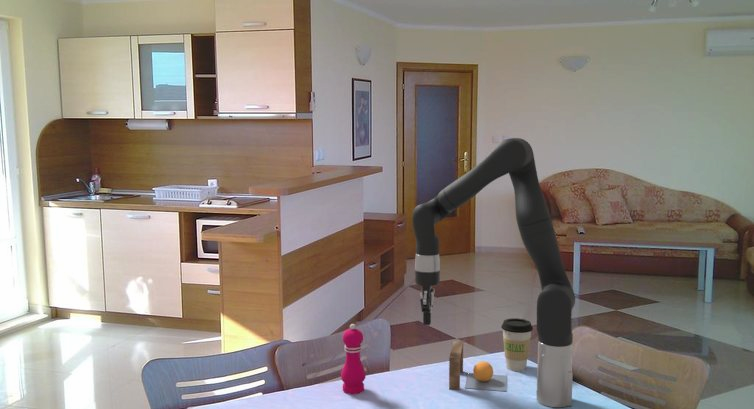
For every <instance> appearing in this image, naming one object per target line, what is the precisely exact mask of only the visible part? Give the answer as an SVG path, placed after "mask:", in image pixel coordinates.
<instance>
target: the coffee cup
mask: <svg viewBox="0 0 754 409" xmlns="http://www.w3.org/2000/svg"><path fill="white" fill-rule="evenodd" d="M501 329H502V341H503V351H504V358H505V364H506V365H505V367H506V369H507V370H508V371H509V370H510V371H513V372H522V371H525V370H526V369H527V365H528V364H527V363H528V359H529V352H530V347H531V340H532V337H531V336H532V331H533V325H532V323H531V321H530V320H527V319H524V318H518V317H517V318H513V317H512V318H507V319H504V320H503V322H502V324H501Z"/></svg>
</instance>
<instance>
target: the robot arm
mask: <svg viewBox="0 0 754 409" xmlns="http://www.w3.org/2000/svg"><path fill="white" fill-rule="evenodd" d="M508 174H509V175H508ZM505 175H508V176H509V177H510V181H511V183H512V187H513V191H514V203H515V204H514V206H515V207H514V208H515V209H514V210H515V219H516V223H517V227H518V230H519V234H520V237H521V238H520V239H521V241H522V243H523V245H524V248H525V249H526V252H527V253H528V255H529V257H530V258H531V260H532V262H533V263H534V266H535V268H536V270H537V271H536V272H537V273H538V278H539V282H540V287H541V292H540V293H539V294H538V295H537V296H538V297H537V299H536V331H537V364H536V365H537V368H536V369H537V371H536V374H537V375H536V401H537V402H538V403H539V404H541V405H542V406H546V407H551V408H564V407H572V405H573V404H572V403H573V401H572V400H573V369H572V368H573V367H572V366H573V340H574V339H573V338H574V335H573V331H572V310H573V308H574V306H575V304H576V296H575V292H574V289H573V287H572V285H571V282H570V279H569V277H568V275H567V272H566V270H565V266H564V265H563V264H564V263H563V261H562V257H561V252H560V247H559V243H558V239H557V236H556V230H555V227H554V224H553V221H552V217H551V214H550V211H549V209H548V205H547V202H546V199H545V195H544V193H543V191H542V188H541V186H540V181H539V178H538V171H537V167H536V160H535V154H534V151H533V147H532V146H531V144H530V143H529V142H528V141H527V140H526V139H523V138H521V137H512V138H510V137H509V138H507V139H504V140H503V141H502V142H500V143H499V144H498V145H497V146H496V147H495V148H494V149H493V150H492V151H491V152H490V153H489V154H488V155H487V156H485V158H484V159H483V160H481V161H480V162H479V163H478V164H477V165H475V166H474V167H473V168H472V169H470V170H469V171H468V172H466V173H464V174H463V175H462V176H460V177H458V178H457V179H455V180H453V181H452V182H451V183H450V184H448V185H447V186H446V187H444V188H443V189H441V190H440V192H438V195H436V196H434V198H432V199H431V200H429V201H426V202H424V203H420V204H418V205H417V206H415V208H414V209H413V211H412V218H411V220H412V221H411V222H412V228H413V233H414V236H415V259H414V283H415V284H416V285H418V286H421V289H420V291H419V297H420V300H419V301H420V308H421V313H423V314H422V315H423V316H422V320H423V322H422V323H423V325H424V326H430V325H431V323H432V311H433V307H434V306H433V304H434V298H435V297H434V295H435V288H433V287H434V286H438V285H439V284H440V282H441V273H440V272H441V259H440V238H439V236H438V234H436V231H435V225H437V224H438V223H440V222H441V221H442V220H445V218H446V217H448V216H449V215H450V214H451V213H452V212H453V211H456V210H457V209H458V208H460V207H461V206H463V205H464V204H466V203H467V202H469V201H470V200H472V199H473V198H474V197H475V196H476V195H478V193H480V192H481V191H482V190H484V188H486V187H487V186H489V184H491V183H492V182H494V181H495V180H497V179H499V178H501V177H503V176H505Z"/></svg>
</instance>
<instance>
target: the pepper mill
mask: <svg viewBox="0 0 754 409" xmlns="http://www.w3.org/2000/svg"><path fill="white" fill-rule="evenodd" d="M342 342H343V344H344V352H345V355H346V356H345V362H344V364H343V367H342V369H341V373H340V379H341V380H342V382H343V384H342V392H343V393H345V394H346V395H348V394H349V395H358V394H361V393H364V390H365V384H364V381H365V379H366V378H367V377H366V370H365V368H364V366H363V363H362V360H361V351H362V350H363V349H362V346H363V345H362V343H363V342H364V335H363V332H362V331H361V330H360V329H358V328H357V325H355V324H354V323H351V324H350V325H349V328H348V329H346V330H345V331H344V332H343V334H342Z"/></svg>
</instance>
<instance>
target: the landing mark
mask: <svg viewBox="0 0 754 409" xmlns="http://www.w3.org/2000/svg"><path fill="white" fill-rule="evenodd" d="M468 373H469V374H468ZM464 384H465V385H464V389H467V390H481V391H494V392H495V391H496V392H507V375H503V374H493V376H492V378H491V379H490V380H488V381H485V382H482V381H479V380H478V379H476V377H475V376H474V373H473V372H467V374H466V379H465V383H464Z"/></svg>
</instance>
